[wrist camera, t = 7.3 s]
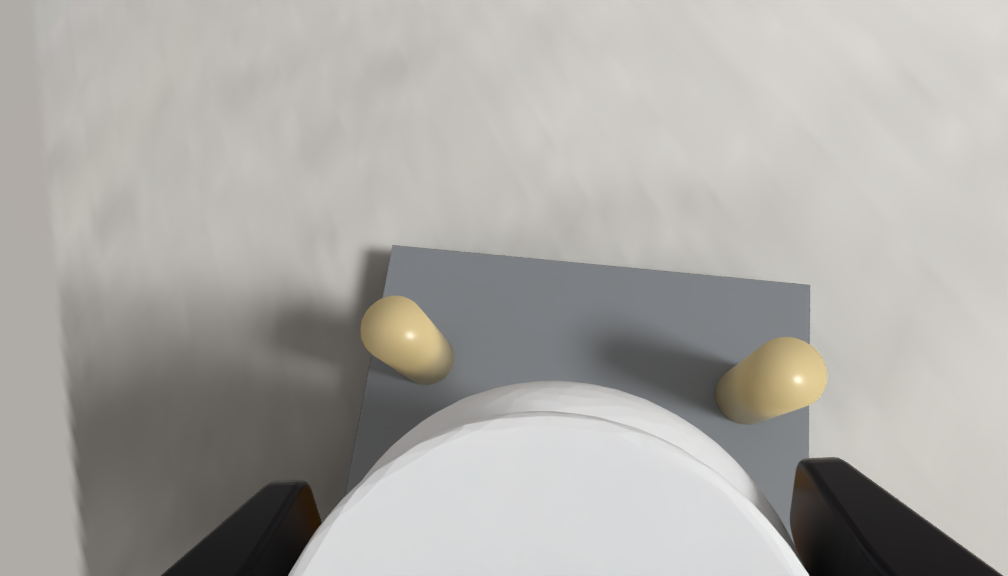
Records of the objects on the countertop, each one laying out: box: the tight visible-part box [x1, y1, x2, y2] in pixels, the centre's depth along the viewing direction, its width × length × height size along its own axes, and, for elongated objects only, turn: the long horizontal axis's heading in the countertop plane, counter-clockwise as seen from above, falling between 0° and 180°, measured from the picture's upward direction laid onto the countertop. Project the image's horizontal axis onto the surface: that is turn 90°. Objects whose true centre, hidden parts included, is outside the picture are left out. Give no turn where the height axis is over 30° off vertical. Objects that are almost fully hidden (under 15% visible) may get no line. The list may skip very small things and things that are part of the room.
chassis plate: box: [345, 245, 827, 545], centre depth 15 cm, size 14×11×5 cm
